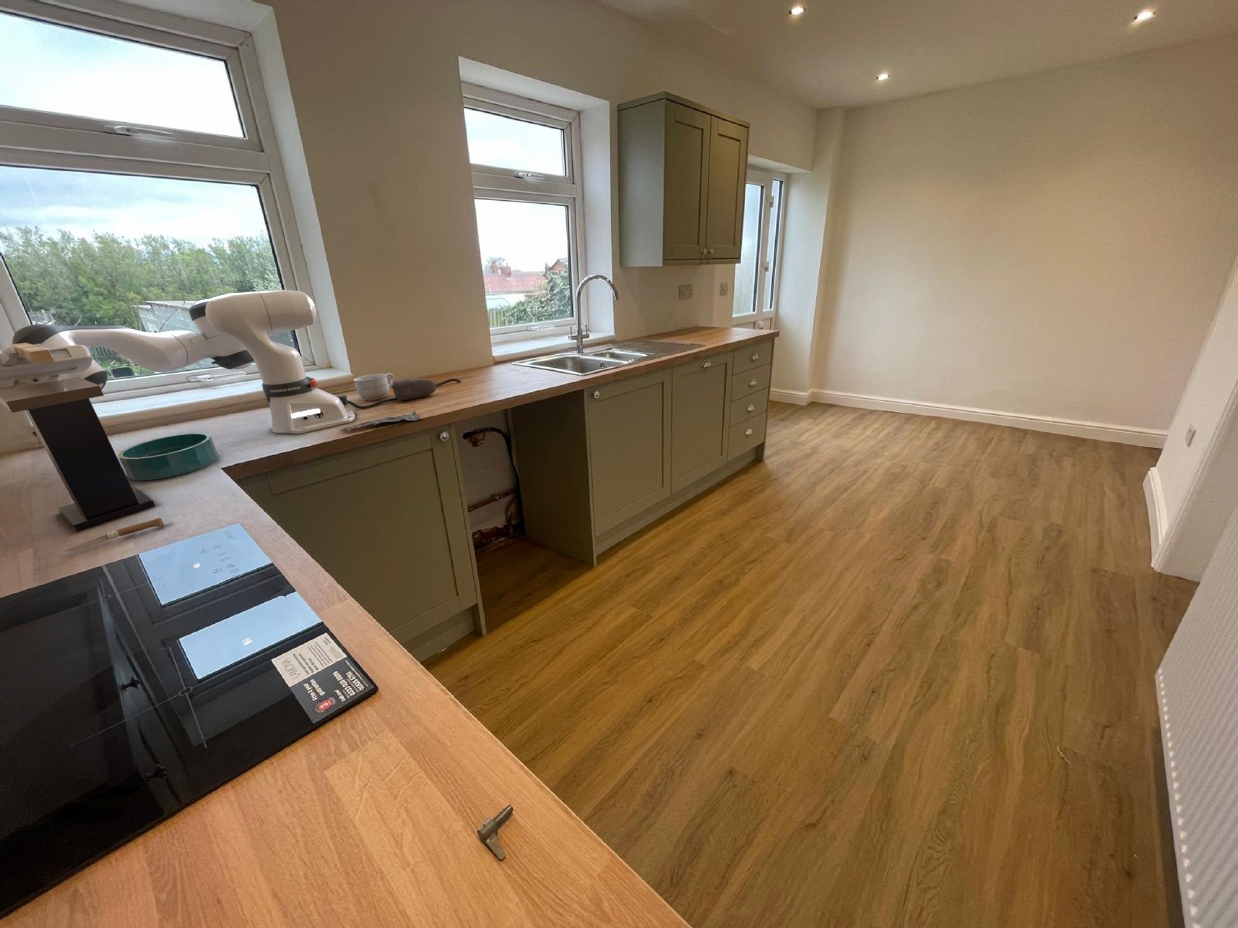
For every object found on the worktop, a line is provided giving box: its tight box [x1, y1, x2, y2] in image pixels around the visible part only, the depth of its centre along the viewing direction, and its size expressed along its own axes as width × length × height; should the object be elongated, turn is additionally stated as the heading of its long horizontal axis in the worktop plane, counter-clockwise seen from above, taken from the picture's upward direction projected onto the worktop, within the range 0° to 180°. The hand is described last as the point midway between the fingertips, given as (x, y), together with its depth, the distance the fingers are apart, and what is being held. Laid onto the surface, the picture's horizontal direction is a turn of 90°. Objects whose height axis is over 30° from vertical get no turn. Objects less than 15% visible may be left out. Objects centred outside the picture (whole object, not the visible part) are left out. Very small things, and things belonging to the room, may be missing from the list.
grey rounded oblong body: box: [391, 378, 437, 401], centre depth 176 cm, size 15×5×7 cm, turn 126°
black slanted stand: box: [0, 377, 156, 533], centre depth 100 cm, size 16×12×26 cm
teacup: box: [353, 372, 396, 401], centre depth 179 cm, size 14×11×8 cm
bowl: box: [117, 432, 219, 481], centre depth 124 cm, size 18×18×6 cm
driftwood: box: [343, 410, 420, 432], centre depth 151 cm, size 21×7×2 cm, turn 121°
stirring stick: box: [10, 343, 54, 364], centre depth 102 cm, size 22×2×2 cm, turn 56°
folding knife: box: [63, 517, 165, 552], centre depth 92 cm, size 14×2×2 cm, turn 135°
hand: (24, 348), depth 105 cm, fingers closed on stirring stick, 2 cm apart
